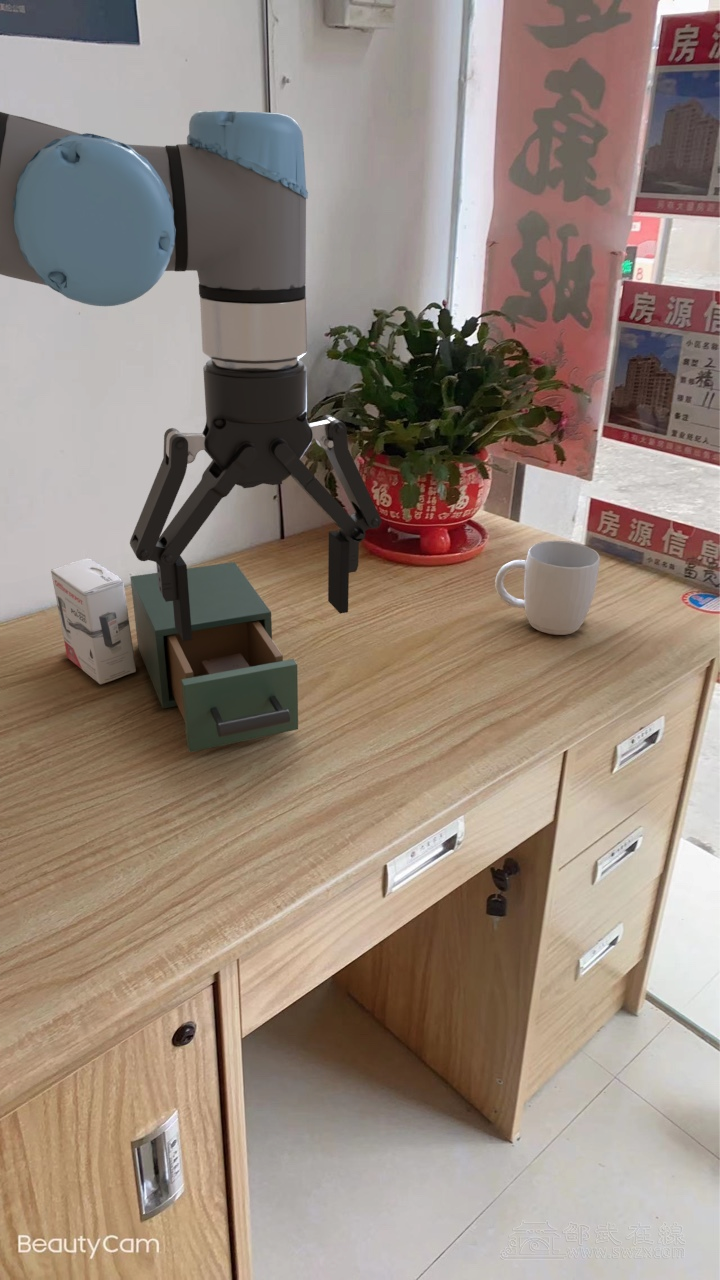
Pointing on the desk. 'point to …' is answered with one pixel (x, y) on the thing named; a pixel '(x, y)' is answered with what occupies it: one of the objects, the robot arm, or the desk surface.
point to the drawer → (231, 686)
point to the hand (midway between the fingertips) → (263, 619)
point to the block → (223, 664)
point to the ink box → (94, 619)
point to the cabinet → (192, 613)
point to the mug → (554, 585)
